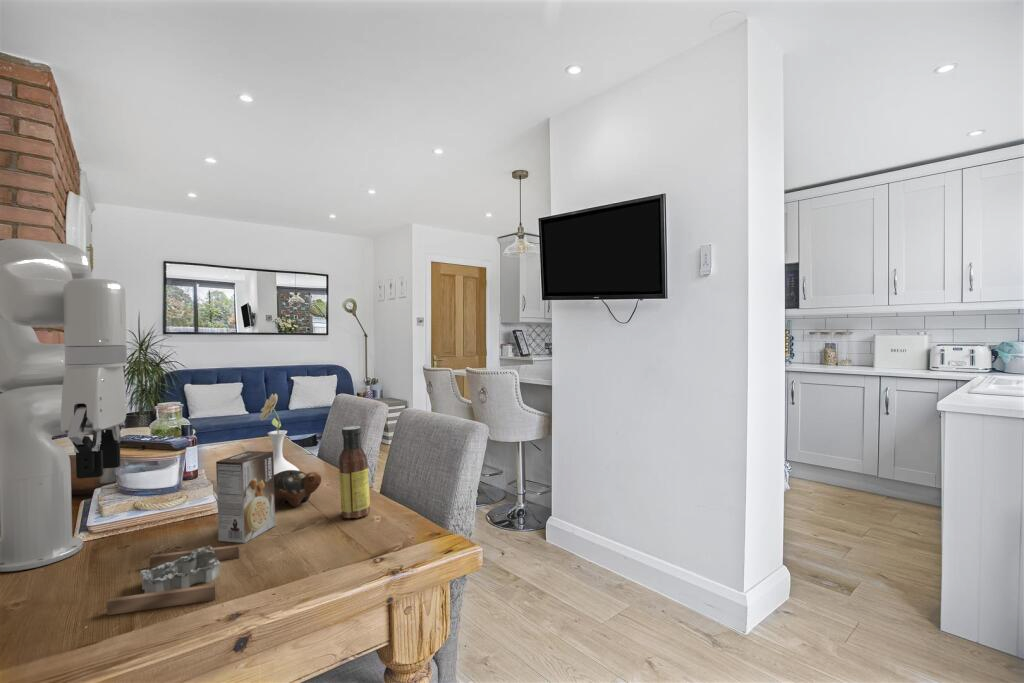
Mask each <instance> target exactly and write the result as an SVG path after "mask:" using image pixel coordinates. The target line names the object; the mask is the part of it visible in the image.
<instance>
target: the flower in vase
mask: <svg viewBox="0 0 1024 683" xmlns="http://www.w3.org/2000/svg"><path fill="white" fill-rule="evenodd" d="M278 396H279V395H278V394H277V393H274V394H273V393H271V394H270V396H269V398H267V399H266V400H265V403H264V406H263V407H262V408H261V409H260V412H261V413H260V415H259V416H258V418H259V419H260V421H264V420H266V419H267V418H268V417H269V416H270V414H271V413H272V412H274V414H275V416H276V417H274V418H273V419H272V421H271V425H273V426H274V427H275V428H276V429H275V430H273V431H272V430H271V431H269V432H267V435H268V436H269V437H270V438H271V439H270V440H271V443H272V448H273V449H272V452H273V461H274V475H275V474H277V473H279V472H282V471H286V470H297V471H300V468H298V467H297V466H295V465H294V464H292V463H291V462H289V461H288V460H286V458H284V455H283V445H284V444H283V443H284V439H285V436H286V434H287V433H288V430H282V429H281V430H280V428H281V427H282V424H281V423H282V422H281V421H280V417H279V415H278V413H277V412H276V409H275V407H276V404H277V402H278V400H279V399H278ZM276 418H277V419H276Z"/></svg>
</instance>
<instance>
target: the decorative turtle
mask: <svg viewBox="0 0 1024 683" xmlns="http://www.w3.org/2000/svg"><path fill="white" fill-rule="evenodd" d="M320 484H322V477H321V474H319V473H318V472H315V471H312V472H308V473H305V472H304V471H302V470H299V471H297V470H286V471H282V472H279V473H277V474H275V475H274V495H275V506H281V505H282V504H283V503H285V502H286V501H288V503H289V505H291V507H293V508H296V507H298V506H299V505H300V504H301V503H302V502H307V501H309V499H310V497H311V495H312V493H314V492H315V491H316V490H317V489H318V488H319V487H320Z"/></svg>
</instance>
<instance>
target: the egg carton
mask: <svg viewBox="0 0 1024 683" xmlns="http://www.w3.org/2000/svg"><path fill="white" fill-rule="evenodd" d="M213 548H214V547H212V545H211V544H210V545H207V546H206V545H205V546H202V547H200V548H197V549H193V550H194V551H192V552H191V554H190V555H189V556H185V557H184V556H183V557H180V558H179V559H178V560H175V561H173V562H168V563H165V564H162V565H160V566H158V567H156V568H153V569H150V568H147V569H143V570H142V569H141V570H140V576H141V583H142V584H141V585H142V587H141V589H142V590H144V594H146V593H153V592H161V591H168V590H175V589H183V588H190V587H192V585H195V584H199V583H205V584H207V583H211V582H214V579H216V578H218V577H219V576H220V565H221V563H220V560H218V558H216V555H215V553H214V550H213Z"/></svg>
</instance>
